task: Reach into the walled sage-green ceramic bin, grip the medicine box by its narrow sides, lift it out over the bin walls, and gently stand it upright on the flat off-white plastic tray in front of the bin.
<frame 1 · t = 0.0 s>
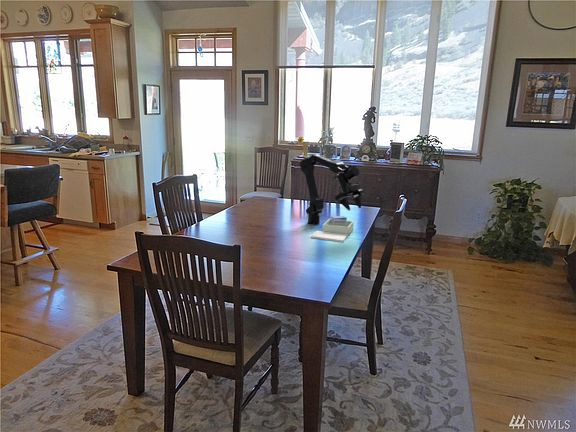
hand: (355, 209, 225), 15 cm above the table, tool tilted 35°, fingers open, 9 cm apart
medicine box: (338, 231, 235), resting in sage bin
sage bin: (338, 231, 235), on the table
tray: (329, 237, 224), on the table
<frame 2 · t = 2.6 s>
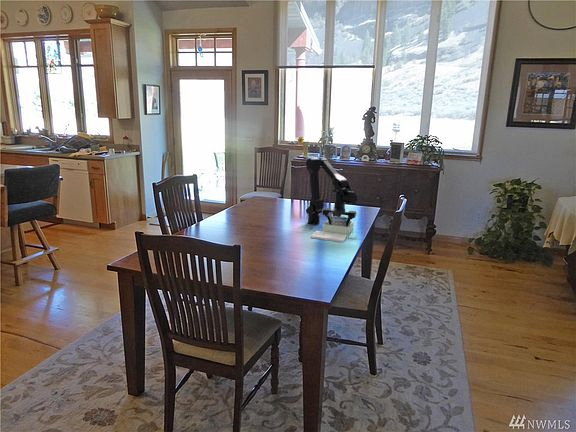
hand: (338, 227, 235), 2 cm above the table, tool pointing down, fingers closed on medicine box, 9 cm apart
medicine box: (338, 231, 235), resting in sage bin, touching gripper
when the fingers open (4 cm above the table, at t = 8.6 s): medicine box stays where it is, resting on tray.
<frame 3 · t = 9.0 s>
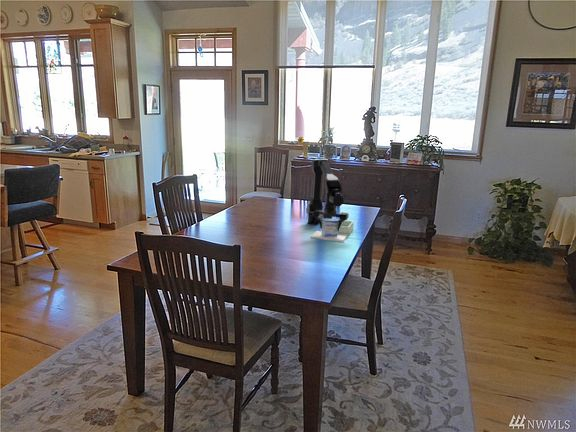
hand: (329, 230, 223), 4 cm above the table, tool pointing down, fingers open, 9 cm apart
medicine box: (329, 235, 224), point 1 cm above the table, touching gripper, tray
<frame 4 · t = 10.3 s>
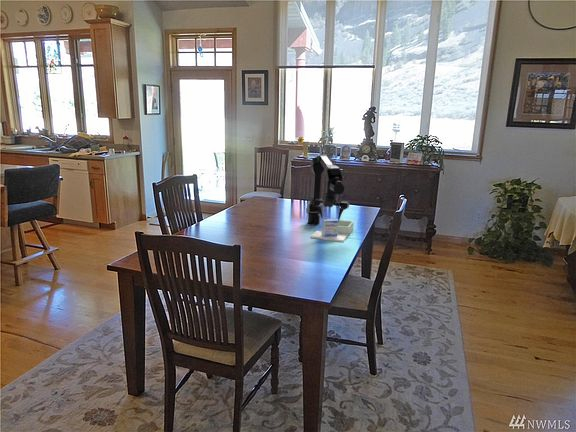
hand: (330, 219, 221), 10 cm above the table, tool pointing down, fingers open, 9 cm apart
medicine box: (329, 235, 224), point 1 cm above the table, touching tray
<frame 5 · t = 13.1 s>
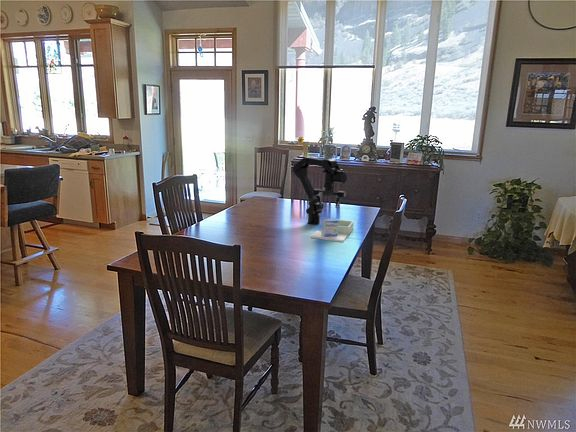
hand: (328, 207, 240), 12 cm above the table, tool pointing down, fingers open, 9 cm apart
nothing on the table moved.
at the end: medicine box inside the target area on the tray (0.1 cm from its centre), point 0.8 cm above the tray's base; medicine box tilted 0°; the gripper is holding nothing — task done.
